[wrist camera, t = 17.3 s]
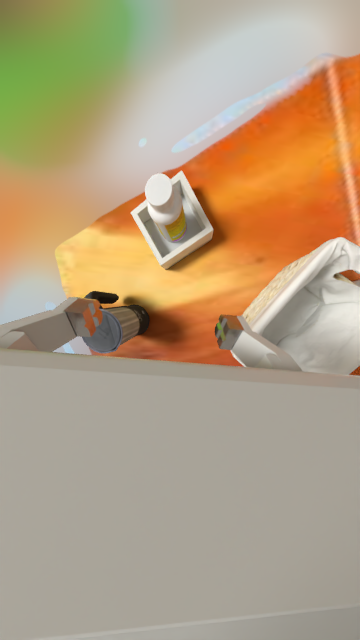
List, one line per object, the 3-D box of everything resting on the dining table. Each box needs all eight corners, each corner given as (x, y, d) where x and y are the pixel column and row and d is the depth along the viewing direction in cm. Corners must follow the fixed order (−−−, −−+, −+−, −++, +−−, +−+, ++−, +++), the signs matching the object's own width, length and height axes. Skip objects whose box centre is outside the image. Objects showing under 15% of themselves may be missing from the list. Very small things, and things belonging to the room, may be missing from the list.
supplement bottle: (191, 220, 34) (185, 173, 21) (181, 247, 35) (169, 218, 22) (167, 211, 34) (147, 160, 22) (157, 238, 36) (134, 204, 23)
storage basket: (266, 370, 37) (306, 414, 23) (218, 334, 38) (228, 356, 24) (337, 298, 32) (447, 298, 18) (281, 259, 33) (343, 228, 18)
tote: (184, 188, 34) (181, 170, 29) (211, 239, 34) (213, 229, 30) (140, 224, 37) (130, 212, 32) (165, 269, 37) (160, 265, 33)
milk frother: (156, 318, 40) (130, 328, 26) (128, 356, 43) (92, 384, 29) (119, 288, 40) (73, 282, 26) (94, 328, 44) (41, 343, 29)
